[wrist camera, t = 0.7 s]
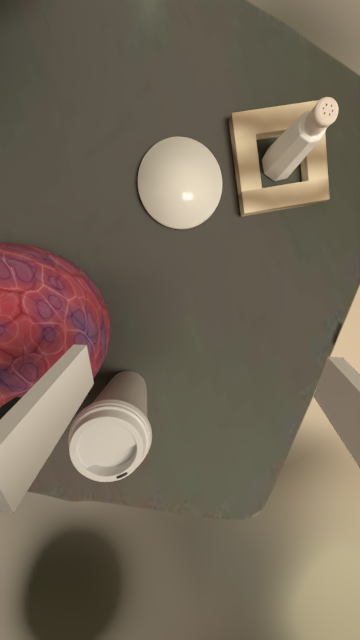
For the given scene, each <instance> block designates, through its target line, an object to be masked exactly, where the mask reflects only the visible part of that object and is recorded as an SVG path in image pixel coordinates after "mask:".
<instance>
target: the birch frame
mask: <svg viewBox="0 0 360 640" xmlns="http://www.w3.org/2000/svg"><path fill="white" fill-rule="evenodd" d="M318 101H319V100H318ZM318 101H311V102H304V103H297V104H291V105H284V106H277V107H270V108H263V109H256V110H249V111H243V112H236V113H232V114H231V116H230V119H229V128H230V136H231V144H232V152H233V159H234V167H235V175H236V183H237V190H238V198H239V206H240V214H241V217H242V216H248V215H254V214H260V213H266V212H272V211H278V210H283V209H289V208H295V207H301V206H307V205H313V204H319V203H323V202H325V201H327V200H329V199H330V198H329V183H328V169H327V154H326V139H325V132H324V134H323V136H322V137H321V139H320V140H319V142H318V143H317V144H316V145H315V147H314V148H313V149H312V150H311V151H310V152H309V153H308V155H307V156H306V157H305V158H304V159H303V160H302V161H301V163H300V164H301V176H302V182H298V183H292V184H286V185H280V186H274V187H268V188H262V186H261V177H260V168H259V159H258V150H257V141H256V140H261V139H268V138H274V137H280V136H281V135H282V134H283V133H284V132H285V131H286V130H287V129H288V128H289V127H290V126H291V125H292V124H293V123H294V122H295V121H296V120H297V119H298V118H299V117H300V116H301V115H302V114H303V113H305V112H308V111H311V110H312V109H313V108H314V107H315V105H316V104H317V102H318Z"/></svg>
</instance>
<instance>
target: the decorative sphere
mask: <svg viewBox="0 0 360 640" xmlns="http://www.w3.org/2000/svg"><path fill="white" fill-rule="evenodd" d="M110 337H111V323H110V316H109V312H108V309H107V305H106V303H105V301H104V298H103V296H102V295H101V293H100V291H99V290H98V288H97V287H96V285H95V284H94V283H93V281H92V280H91V279H90V278H89V277H88V276H87V275H86V274H85V273H84V272H83V271H82V270H80V269H79V268H78V267H77V266H75V265H74V264H73V263H71V262H69V261H68V260H66V259H64V258H63V257H61V256H59V255H56V254H54V253H52V252H49V251H47V250H44V249H41V248H37V247H33V246H29V245H23V244H15V243H0V407H1V406H2V405H4V404H6V403H7V402H9V401H10V400H12V399H14V398H15V397H23V396H24V395H25V394H26V393H27V392H28V391H29V390H30V389H31V388H32V387H33V386H34V385H35V384H36V383H37V382H38V381H39V379H40V378H41V377H42V376H43V375H44V374H45V373H46V372H47V371H48V370H49V369H50V368H51V367H52V366H53V365H54V364H55V363H56V362H57V361H58V360H59V359H60V358H61V357H62V356H63V355H64V354H65V353H66V352H67V351H68V350H69V349H70V348H71V347H72V346H73V345H74V344H75V345H87V349H88V354H89V359H90V365H91V370H92V375H93V379H94V378H95V376H96V375H97V373H98V372H99V370H100V368H101V366H102V365H103V362H104V360H105V358H106V355H107V352H108V348H109V344H110Z"/></svg>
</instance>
